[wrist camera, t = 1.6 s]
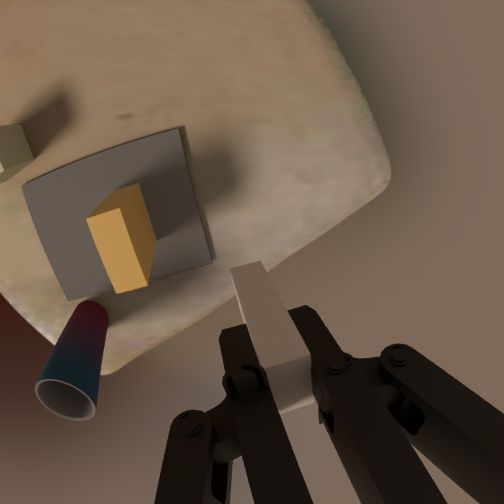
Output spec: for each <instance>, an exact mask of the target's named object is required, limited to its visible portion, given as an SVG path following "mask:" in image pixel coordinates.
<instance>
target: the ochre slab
mask: <svg viewBox="0 0 504 504" xmlns="http://www.w3.org/2000/svg"><path fill="white" fill-rule="evenodd" d="M86 220H87V223H88V226H89V228H90V231H91V234H92V237H93V239H94V242H95V244H96V247H97V249H98V252H99V254H100V257H101V259H102V262H103V264H104V267H105V269H106V271H107V274H108V276H109V278H110V280H111V283H112V285H113V287H114V289H115V292H116V294H118V293H122V292H126V291H130V290H134V289H138V288H142V287H145V286H148V283H149V277H150V272H151V267H152V261H153V256H154V252H155V247H156V242H157V241H156V237H155V234H154V231H153V228H152V225H151V222H150V219H149V216H148V212H147V209H146V206H145V202H144V199H143V196H142V192H141V189H140V185H139V183H136V184H133V185H130V186H126V187H123V188H120V189H117V190H114V191H113V192H112V193H111V194H110V195H109V196H108V197H107V198H106V199H105V200H104V201H103V202H102V203H101V204H100V205H99V206H98V207H97V208H96V209H95V210H94V211H93V212H92V213H91V214H90V215H89V216H88V217H87V218H86Z"/></svg>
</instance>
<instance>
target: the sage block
mask: <svg viewBox="0 0 504 504" xmlns="http://www.w3.org/2000/svg"><path fill="white" fill-rule="evenodd" d="M32 161H34V158H33V155H32V153H31V150H30V147H29V145H28V142H27V139H26V137H25V134H24V131H23V128H22V125H21V124H14V125H5V126H0V183H2V182H5V181H7V180H8V179H10V178H11V177H12V176H13V175H15V174H16V173H17V172H19V171H20V170H21V169H23V168H24V167H25V166H27V165H28V164H29V163H31V162H32Z"/></svg>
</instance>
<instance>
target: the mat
mask: <svg viewBox="0 0 504 504" xmlns="http://www.w3.org/2000/svg"><path fill="white" fill-rule="evenodd" d="M136 183H139V185H140V189H141V192H142V196H143V199H144V202H145V206H146V209H147V212H148V216H149V219H150V222H151V225H152V228H153V231H154V234H155V237H156V241H157V242H156V247H155V252H154V256H153V261H152V267H151V272H150V277H149V280H151V279H154V278H158V277H162V276H166V275H170V274H173V273H177V272H181V271H185V270H189V269H192V268H196V267H200V266H204V265H207V264H211V263H212V259H211V256H210V252H209V248H208V245H207V241H206V237H205V234H204V230H203V226H202V222H201V218H200V215H199V211H198V207H197V203H196V199H195V195H194V191H193V187H192V183H191V179H190V175H189V171H188V167H187V163H186V158H185V154H184V150H183V146H182V141H181V137H180V133H179V128H178V129H174V130H170V131H166V132H163V133H159V134H156V135H152V136H149V137H146V138H142V139H139V140H136V141H133V142H130V143H127V144H124V145H121V146H118V147H115V148H112V149H109V150H106V151H103V152H100V153H98V154H95V155H92V156H90V157H87V158H84V159H82V160H79V161H77V162H74V163H72V164H69V165H67V166H65V167H62V168H60V169H57V170H55V171H53V172H51V173H48V174H46V175H44V176H42V177H39V178H37V179H35V180H33V181H31V182H29V183H27V184H25V185H23V186H21V187H22V190H23V193H24V197H25V200H26V203H27V206H28V209H29V211H30V214H31V217H32V220H33V223H34V225H35V228H36V230H37V233H38V236H39V238H40V241H41V243H42V245H43V248H44V250H45V253H46V255H47V257H48V260H49V262H50V264H51V266H52V268H53V271H54V273H55V275H56V277H57V279H58V281H59V283H60V285H61V287H62V289H63V291H64V293H65V295H66V297H67V299H68V301H71V300H75V299H79V298H82V297H86V296H90V295H94V294H98V293H101V292H105V291H109V290H113V289H114V287H113V285H112V283H111V280H110V278H109V276H108V274H107V271H106V269H105V267H104V264H103V262H102V259H101V257H100V254H99V252H98V249H97V247H96V244H95V242H94V239H93V237H92V234H91V231H90V228H89V226H88V223H87V220H86V218H87V217H88V216H89V215H90V214H91V213H92V212H93V211H94V210H95V209H96V208H97V207H98V206H99V205H100V204H101V203H102V202H103V201H104V200H105V199H106V198H107V197H108V196H109V195H110V194H111V193H112V192H113V191H114V190H117V189H120V188H123V187H126V186H130V185H133V184H136Z"/></svg>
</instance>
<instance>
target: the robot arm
mask: <svg viewBox="0 0 504 504" xmlns="http://www.w3.org/2000/svg"><path fill="white" fill-rule="evenodd" d="M230 273H231V277H232V280H233V284H234V288H235V292H236V296H237V300H238V303H239V307H240V311H241V314H242V318H243V321H244V324H242V325H238V326H234V327H231V328H227V329H223V330H222V332H221V335H220V337H219V343H220V349H221V354H222V359H223V364H224V369H225V375H224V376H223V381H222V385H223V387H224V389H225V391H226V394H227V396H226V397H225V399H224V400H223V401H222V402H221V403H220V404H219V405H218V406H216V407H214V408H213V409H211V410H209V411H207V412H205V413H204V412H202V411H199V410H188V411H185V412H183V413H181V414H179V415H178V416H177V417H176V418H175V419H174V420H173V422H172V424H171V427H170V431H169V436H168V440H167V445H166V449H165V454H164V459H163V463H162V468H161V473H160V478H159V483H158V488H157V493H156V498H155V503H154V504H230V493H231V478H232V464H233V460H234V459H236V458H238V457H239V456H241V455H242V458H243V462H244V466H245V470H246V474H247V477H248V481H249V485H250V489H251V493H252V496H253V499H254V503H255V504H313V501H312V499H311V496H310V494H309V491H308V489H307V486H306V483H305V481H304V478H303V476H302V473H301V471H300V468H299V465H298V463H297V460H296V457H295V455H294V452H293V449H292V447H291V444H290V441H289V439H288V436H287V433H286V431H285V428H284V425H283V422H282V420H281V417H280V413H283V412H286V411H290V410H293V409H296V408H299V407H302V406H305V405H308V404H311V403H314V397H315V399H316V401H317V403H318V413H319V423H320V424H321V423H322V421H323V423H324V425H325V427H326V429H327V432H328V433H329V436H330V438H331V440H332V442H333V444H334V447H335V449H336V451H337V453H338V455H339V457H340V460H341V462H342V464H343V466H344V468H345V470H346V472H347V474H348V476H349V479H350V481H351V483H352V485H353V487H354V489H355V491H356V493H357V496H358V497H359V500H360V502H361V504H447V502H446V500H445V499H444V497H443V495H442V494H441V492H440V491H439V489H438V487H437V486H436V484H435V482H434V481H433V479H432V477H431V476H430V474H429V473H428V471H427V469H426V468H425V466H424V465H423V463H422V461H421V460H420V458H419V457H418V455H417V453H416V452H415V450H414V449H413V447H412V445H413V446H414V447H415V448H416V449H418V450H419V451H420V452H421V453H422V454H423V455H424V456H425V457H427V458H428V459H429V460H430V461H431V462H432V463H433V464H434V465H435V466H437V467H438V468H439V469H440V470H441V471H442V472H443V473H445V474H446V475H447V476H448V477H449V478H450V479H451V480H453V481H454V482H455V483H456V484H457V485H458V486H460V487H461V488H462V489H463V490H464V491H465V492H467V493H468V494H469V495H470V496H471V497H472V498H474V499H475V500H476V501H477V502H478V503H480V504H504V414H503V413H502V412H500V411H499V410H498V409H496V408H495V407H493V406H492V405H491V404H490V403H488V402H487V401H485V400H484V399H483V398H481V397H480V396H479V395H477V394H476V393H474V392H473V391H472V390H470V389H469V388H468V387H466V386H465V385H463V384H462V383H461V382H459V381H458V380H457V379H455V378H454V377H452V376H451V375H450V374H448V373H447V372H445V371H444V370H443V369H441V368H440V367H439V366H437V365H436V364H434V363H433V362H431V361H430V360H429V359H427V358H426V357H424V356H423V355H422V354H420V353H419V352H417V351H416V350H415V349H413V348H412V347H410V346H408V345H405V344H392V345H390V346H388V347H386V348H385V349H384V350H383V351H382V352H381V355H380V357H372V358H363V359H362V358H361V359H359V358H354V357H352V356H351V355H350V354H347V353H345V352H343V351H342V350H341V349H340V347H339V345H338V344H337V342H336V341H335V339H334V338H333V336H332V335H331V333H330V332H329V330H328V329H327V327H325V324H324V323H323V321H322V320H321V318H320V317H319V315H318V314H317V312H316V311H315V310H314V309H312V308H310V307H309V306H307V305H304V306H301V307H298V308H295V309H291V310H288V311H287V309H286V307H285V306H284V304H283V302H282V300H281V298H280V296H279V294H278V293H277V291H276V289H275V287H274V285H273V283H272V281H271V280H270V278H269V276H268V274H267V272H266V270H265V268H264V267H263V265H262V263H261V261H257V262H254V263H250V264H246V265H242V266H239V267H235V268H231V269H230ZM410 443H411V444H412V445H411V444H410Z"/></svg>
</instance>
